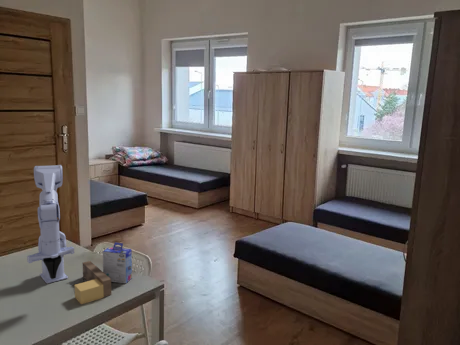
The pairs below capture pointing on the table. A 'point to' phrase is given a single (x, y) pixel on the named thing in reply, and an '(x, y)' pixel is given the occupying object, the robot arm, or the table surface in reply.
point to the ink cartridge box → (118, 263)
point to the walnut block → (97, 276)
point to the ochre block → (89, 291)
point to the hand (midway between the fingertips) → (52, 277)
